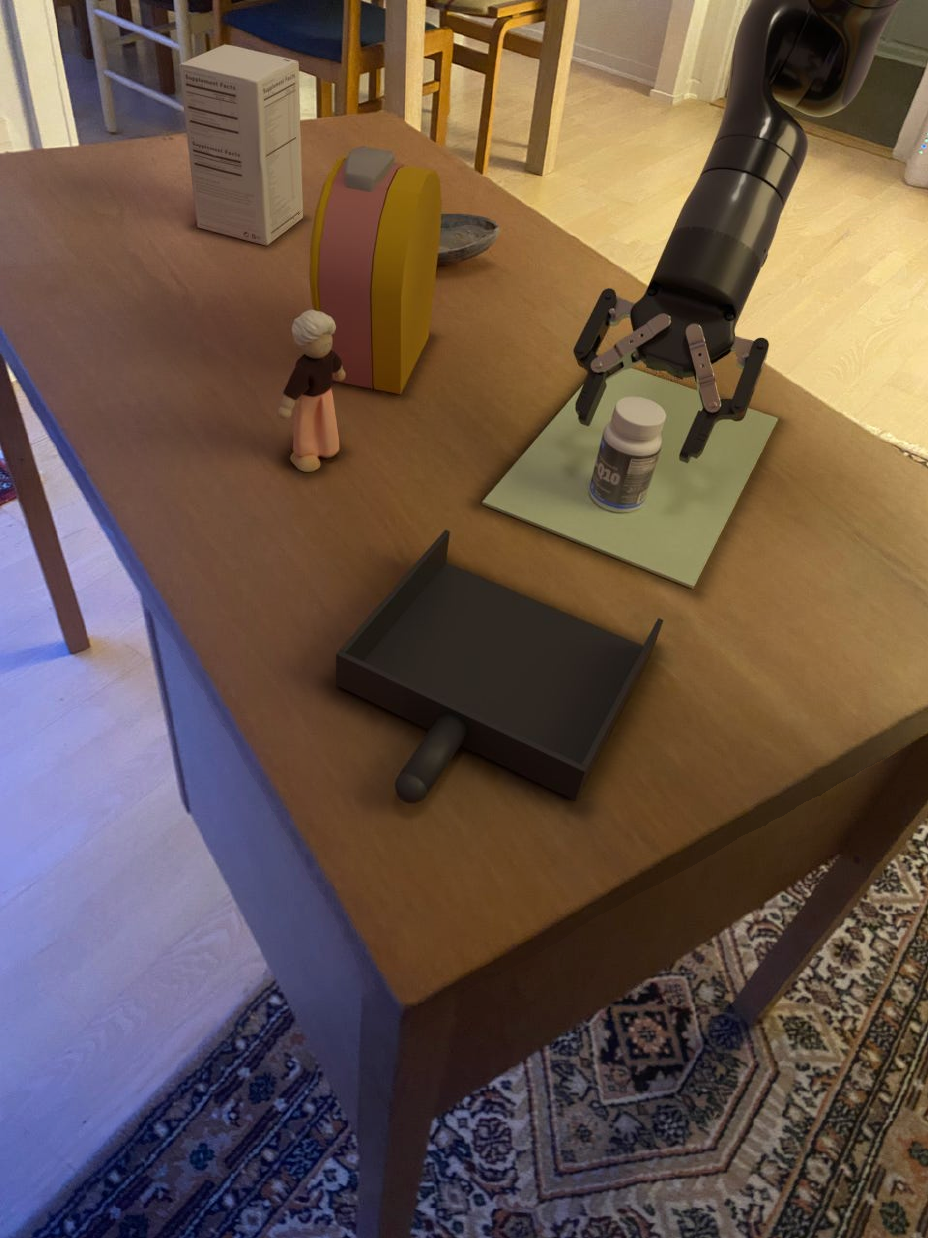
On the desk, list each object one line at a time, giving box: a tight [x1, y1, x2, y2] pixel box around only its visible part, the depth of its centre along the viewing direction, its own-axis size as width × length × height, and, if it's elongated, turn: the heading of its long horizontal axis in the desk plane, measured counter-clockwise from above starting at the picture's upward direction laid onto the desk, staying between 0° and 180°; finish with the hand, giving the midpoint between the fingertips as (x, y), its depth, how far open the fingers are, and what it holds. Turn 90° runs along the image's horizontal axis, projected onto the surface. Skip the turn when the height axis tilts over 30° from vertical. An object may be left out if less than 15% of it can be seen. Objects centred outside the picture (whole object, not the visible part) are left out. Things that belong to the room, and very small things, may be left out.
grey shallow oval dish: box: [437, 213, 502, 266], centre depth 102 cm, size 15×12×5 cm
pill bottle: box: [589, 397, 666, 513], centre depth 72 cm, size 5×5×8 cm
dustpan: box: [335, 529, 665, 805], centre depth 57 cm, size 20×17×3 cm
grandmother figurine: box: [277, 309, 346, 473], centre depth 71 cm, size 8×4×13 cm, turn 160°
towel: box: [481, 367, 779, 590], centre depth 79 cm, size 28×18×1 cm, turn 153°
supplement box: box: [178, 44, 304, 247], centre depth 99 cm, size 10×9×17 cm
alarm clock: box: [308, 146, 443, 395], centre depth 81 cm, size 15×8×18 cm, turn 168°
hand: (632, 441), depth 71 cm, fingers open, 8 cm apart
